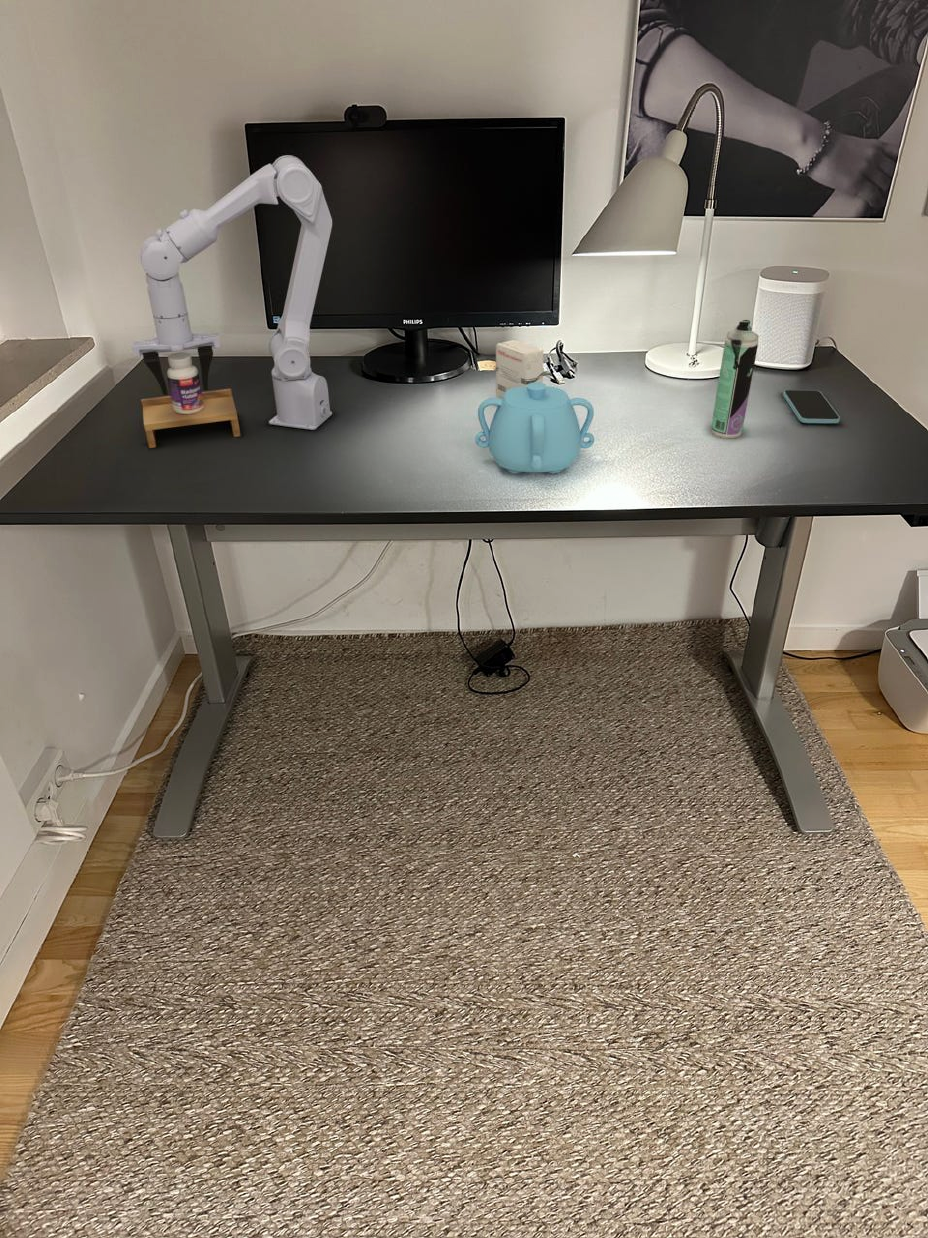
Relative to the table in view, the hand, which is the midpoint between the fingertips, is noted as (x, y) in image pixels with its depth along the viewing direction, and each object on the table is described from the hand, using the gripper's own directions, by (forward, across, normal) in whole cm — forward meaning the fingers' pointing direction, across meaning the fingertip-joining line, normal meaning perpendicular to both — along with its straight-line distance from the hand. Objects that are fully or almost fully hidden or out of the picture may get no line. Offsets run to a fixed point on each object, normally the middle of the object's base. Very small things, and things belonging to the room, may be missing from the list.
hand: (185, 390), depth 161 cm
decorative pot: (+8, +55, -31) cm, 63 cm away
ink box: (+8, +60, -8) cm, 61 cm away
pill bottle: (+4, 0, 0) cm, 4 cm away
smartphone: (+8, +112, -27) cm, 115 cm away
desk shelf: (+8, 0, 0) cm, 8 cm away
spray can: (+8, +92, -31) cm, 97 cm away
